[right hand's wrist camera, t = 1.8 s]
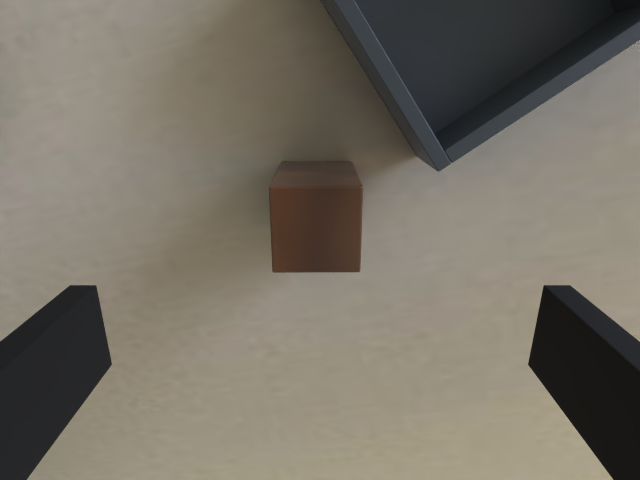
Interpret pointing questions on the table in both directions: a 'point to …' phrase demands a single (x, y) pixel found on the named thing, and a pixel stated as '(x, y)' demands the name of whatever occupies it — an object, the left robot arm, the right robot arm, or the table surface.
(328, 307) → the table surface
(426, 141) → the slate tray
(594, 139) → the table surface
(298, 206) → the walnut block
